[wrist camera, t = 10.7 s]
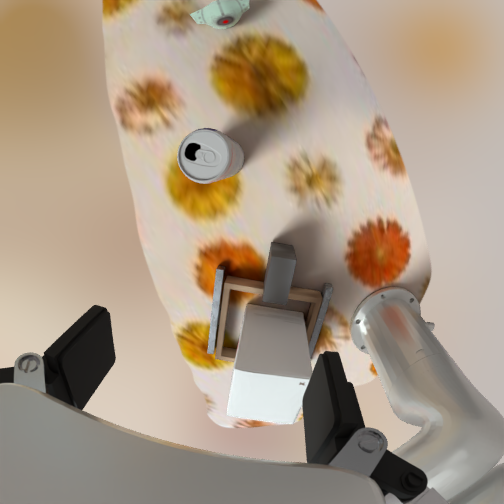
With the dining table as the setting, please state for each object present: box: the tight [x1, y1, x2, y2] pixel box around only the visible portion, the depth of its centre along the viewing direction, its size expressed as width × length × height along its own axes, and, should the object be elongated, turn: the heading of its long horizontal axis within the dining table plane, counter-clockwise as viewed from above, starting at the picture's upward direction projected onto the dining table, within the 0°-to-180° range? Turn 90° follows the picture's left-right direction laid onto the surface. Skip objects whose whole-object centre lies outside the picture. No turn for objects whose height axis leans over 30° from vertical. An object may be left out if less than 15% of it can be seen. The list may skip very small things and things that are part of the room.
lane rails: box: [208, 265, 333, 359], centre depth 42 cm, size 17×15×2 cm
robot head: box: [190, 0, 249, 29], centre depth 26 cm, size 8×4×7 cm, turn 106°
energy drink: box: [177, 128, 244, 183], centre depth 30 cm, size 5×5×12 cm
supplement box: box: [227, 304, 312, 424], centre depth 36 cm, size 9×9×15 cm
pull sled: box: [215, 242, 322, 362], centre depth 39 cm, size 14×20×6 cm
